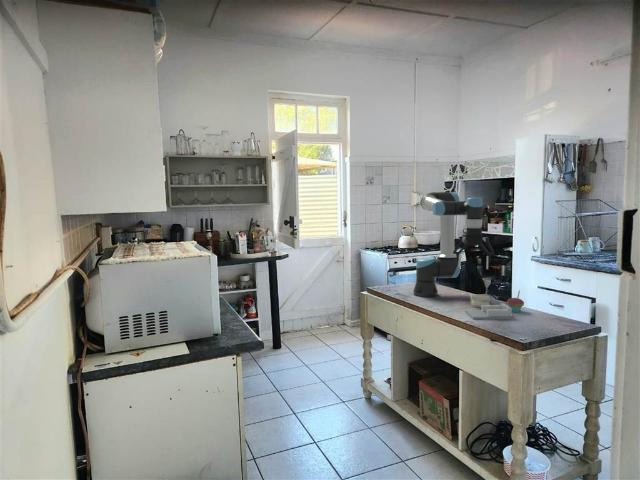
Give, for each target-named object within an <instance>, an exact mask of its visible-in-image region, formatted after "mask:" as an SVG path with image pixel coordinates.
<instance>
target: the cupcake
mask: <svg viewBox="0 0 640 480" xmlns="http://www.w3.org/2000/svg"><path fill="white" fill-rule="evenodd" d="M520 293H521V289H519V290H518V293H517V297H510V298H508V299H507V300H506V305H507V306H509V307H510V308H512V312H513V313H519V312H521V309H522V307H523V306H524V305H525V301H524V300H522V299H521V298H519V297H520Z"/></svg>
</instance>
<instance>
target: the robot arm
mask: <svg viewBox="0 0 640 480" xmlns="http://www.w3.org/2000/svg"><path fill="white" fill-rule="evenodd" d="M483 202H484V201H483V198H482V197H468V198H467V199H466V200H460V197H459V195H458V193H457V192H453V191H440V192H437V191H436V192H434V191H433V192H428V193H426V194H424V195H423V196H422V197H421V199H420V207H421V208H422V209H423V210H425V211H427V212H428V211H431V212H432V214H433V215H434V216H439V233H440V234H439V235H440V236H439V237H440V238H439V240H440V241H439V243H440V245H439V247H440V248H439V250H440V252H439V253H440V254H439V255H438V256H437V259H436V257H433V256H431V257H421V258H419V259H417V261H416V263H415V265H416V267H415V268H416V270H415V271H416V272H415V273H416V274H415V275H416V276H415V277H416V278H415V285H414V288H413V292H412V293H413V295H414V296H416V297H423V298H424V297H425V298H432V297H437V296H438V295H439V290H438V288H437V285H436V279H452V278H457V277H459V274H460V273H461V266H462V264H461V262H462V255H461V253H462V252H464V250H465V248H467V247H468V246H469V245H470V246H474V247H475V246H479V247H480V248H481V249H482V250H483V252H484V253H485V254H486V266H485V267H486V270H489V264H490V263H491V262H492V256H495V254H496V253H495V251H494V249H493V247H492V245H491V243H490V241H489V237H488V236H486V237H483V229H482V228H483V207H484V206H483V205H484V203H483ZM455 216H466V234H465V235H466V236H463V235H461V236H460V237H459V240H458V243H457V244H456V246H455ZM464 241H466V243H465V244H464V245H463V246H462V247H461V248H460V246H461V244H462V242H464ZM482 241H484V242H485V243H486V245H487V248H488V249H489V250H488V249H487V248H486V247H485V246H484V245H483V243H482ZM459 248H460V250H459ZM489 251H490V252H489Z"/></svg>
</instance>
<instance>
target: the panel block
mask: <svg viewBox="0 0 640 480" xmlns="http://www.w3.org/2000/svg"><path fill="white" fill-rule="evenodd" d="M490 299H491V296H490V295H488V294H470V302H469V303H470V306H471V307H473V308H481V305H491V304H490V303H491V301H490Z"/></svg>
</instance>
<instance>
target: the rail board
mask: <svg viewBox="0 0 640 480" xmlns="http://www.w3.org/2000/svg"><path fill="white" fill-rule="evenodd" d="M480 308H481V309H465V310H464V313H465V314H466V315H468V316H469V317H470V318H471V320H508V321H509V320H510V319H515V318H514V316H513V315H512V308H510V307H509V305H508V304H507V303H506V304H505V303H501V302H500V304H490V305H481V307H480Z"/></svg>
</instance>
